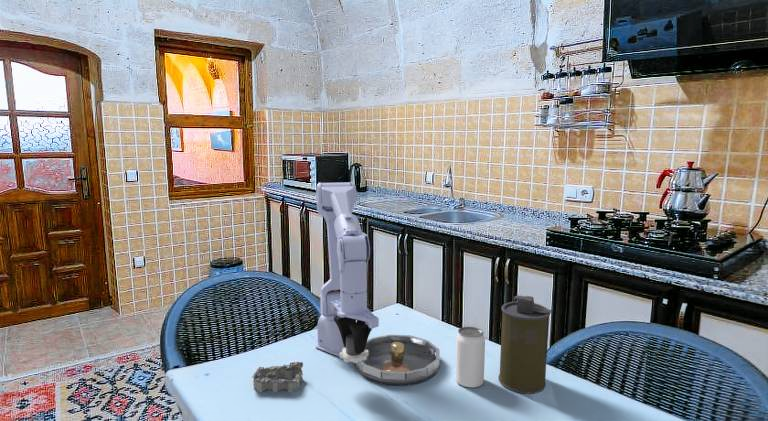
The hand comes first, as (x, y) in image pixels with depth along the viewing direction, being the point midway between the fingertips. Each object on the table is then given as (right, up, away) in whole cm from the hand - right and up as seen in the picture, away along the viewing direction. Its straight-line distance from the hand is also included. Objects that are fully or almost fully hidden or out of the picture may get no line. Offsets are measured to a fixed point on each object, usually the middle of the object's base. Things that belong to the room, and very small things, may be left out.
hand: (354, 348), depth 102 cm
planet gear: (0, -2, 0) cm, 2 cm away
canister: (+38, -9, +3) cm, 40 cm away
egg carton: (-17, -9, +2) cm, 20 cm away
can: (+26, -9, +4) cm, 28 cm away
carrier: (+10, -7, +12) cm, 17 cm away
